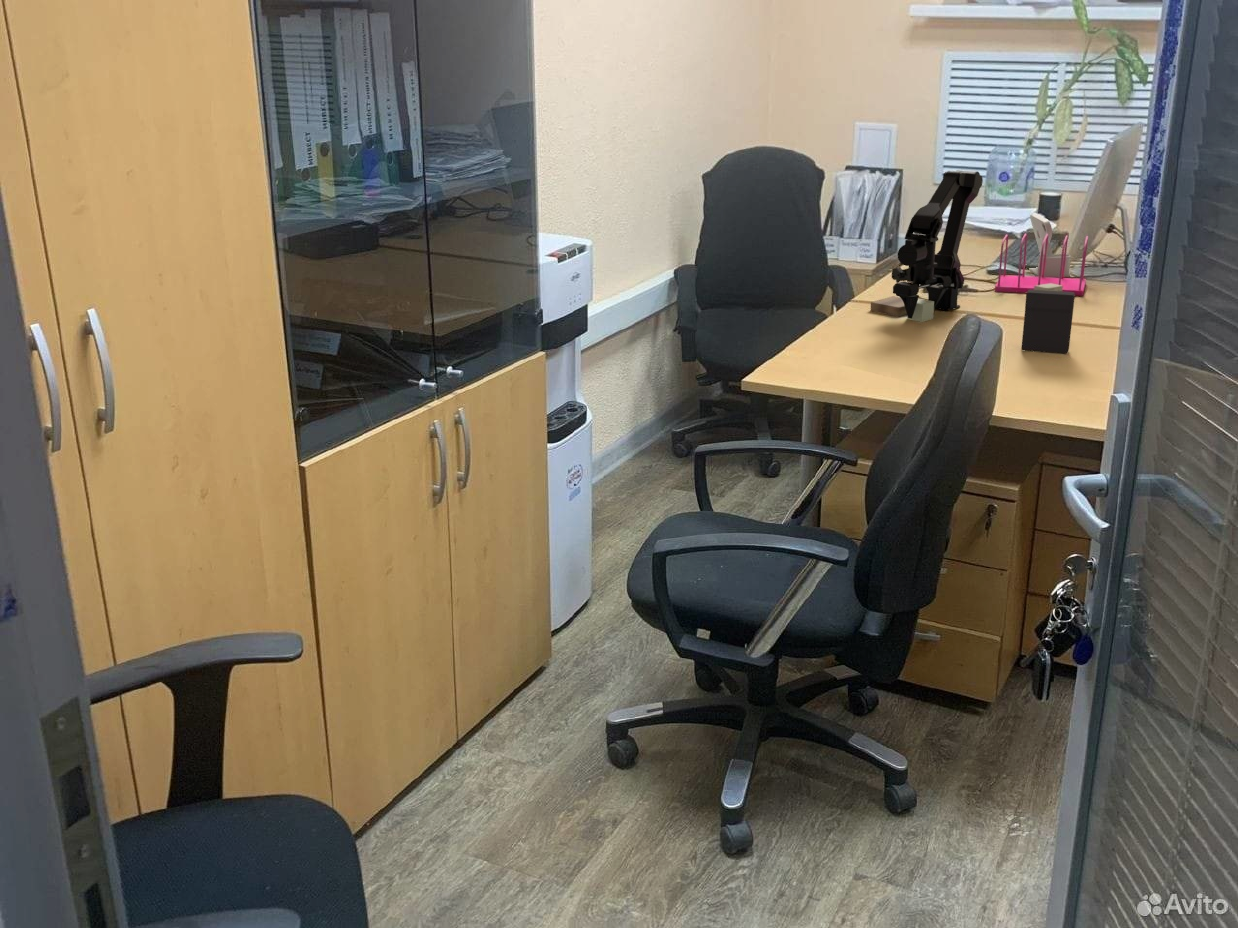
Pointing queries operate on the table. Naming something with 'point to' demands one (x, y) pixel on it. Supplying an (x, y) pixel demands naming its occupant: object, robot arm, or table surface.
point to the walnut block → (889, 306)
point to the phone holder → (1052, 260)
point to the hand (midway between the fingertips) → (920, 315)
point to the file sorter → (1028, 282)
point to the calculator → (1048, 321)
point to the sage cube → (923, 310)
